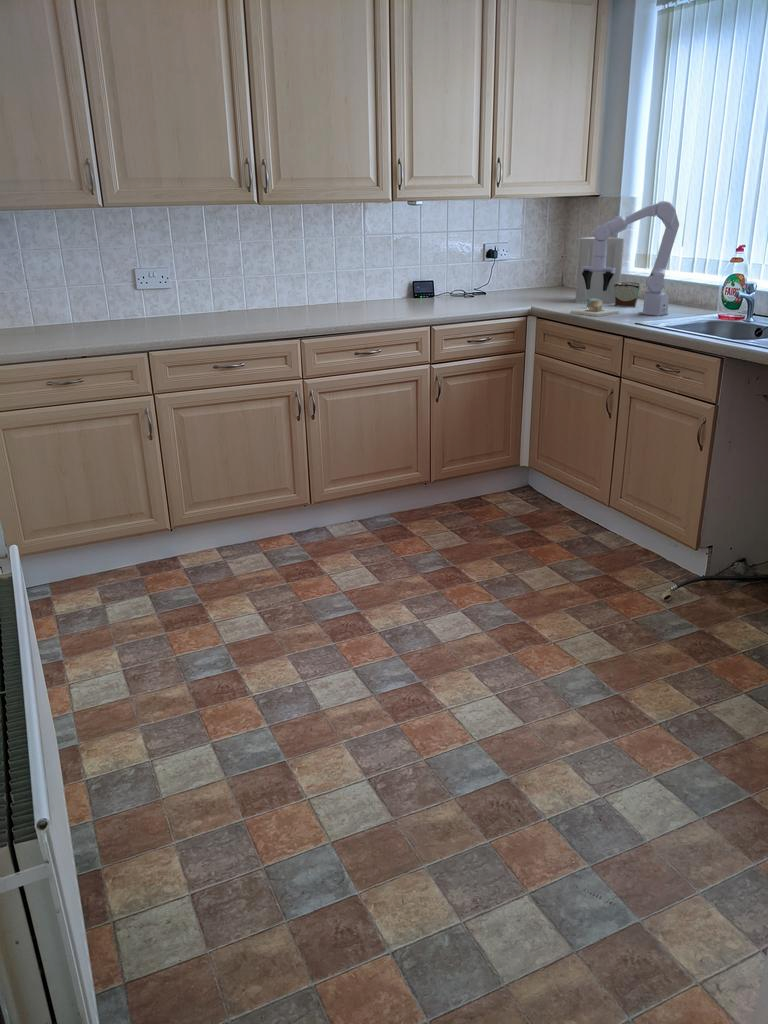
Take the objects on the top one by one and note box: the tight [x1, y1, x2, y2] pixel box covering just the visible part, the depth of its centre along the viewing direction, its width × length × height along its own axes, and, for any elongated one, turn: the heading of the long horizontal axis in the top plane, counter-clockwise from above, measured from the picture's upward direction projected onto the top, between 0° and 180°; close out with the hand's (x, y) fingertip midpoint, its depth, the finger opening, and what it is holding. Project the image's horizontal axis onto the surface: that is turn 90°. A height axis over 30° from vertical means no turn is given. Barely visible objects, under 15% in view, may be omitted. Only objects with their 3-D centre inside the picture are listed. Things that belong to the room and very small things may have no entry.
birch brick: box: [589, 300, 603, 311], centre depth 351 cm, size 4×4×4 cm
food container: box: [614, 281, 642, 308], centre depth 371 cm, size 12×6×10 cm, turn 51°
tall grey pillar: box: [574, 236, 625, 304], centre depth 383 cm, size 19×15×28 cm
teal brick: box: [586, 298, 601, 308], centre depth 366 cm, size 4×4×4 cm
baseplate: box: [570, 307, 620, 317], centre depth 352 cm, size 14×14×1 cm
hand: (596, 290), depth 350 cm, fingers open, 7 cm apart
